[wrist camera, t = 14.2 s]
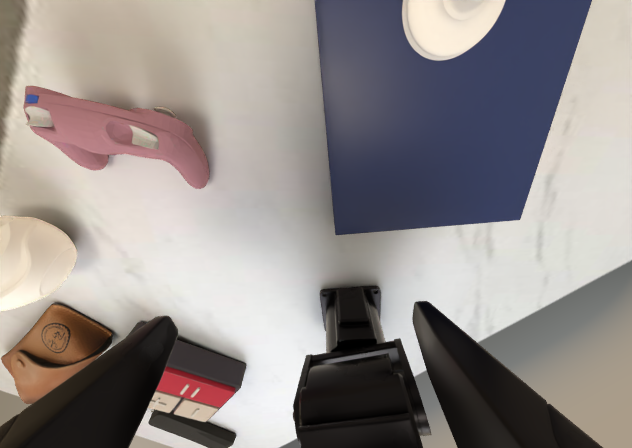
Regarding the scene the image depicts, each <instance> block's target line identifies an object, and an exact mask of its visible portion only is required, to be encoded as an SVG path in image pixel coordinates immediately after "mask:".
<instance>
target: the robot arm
mask: <svg viewBox="0 0 632 448" xmlns="http://www.w3.org/2000/svg"><path fill="white" fill-rule="evenodd" d="M375 290H377V291H375ZM320 300H321V307H322V314H323V321H324V328H325V331H326V353H323V354H318V355H306V358H305V362H304V365H303V369H302V373H301V377H300V381H299V384H298V388H297V392H296V396H295V400H294V404H293V408H294V412H293V419H294V421H295V428H296V434H297V438H298V441H299V444H300V445H301V448H423V446H422V442H421V439H420V436H421V435H423V436H426V435H431V431H430V427H429V423H428V420H427V417H426V413H425V410H424V407H423V404H422V400H421V397H420V395H419V391H418V388H417V385H416V382H415V379H414V376H413V373H412V371H411V368H410V365H409V362H408V359H407V357H406V354H405V351H404V348H403V345H402V343H401V340H400V339H394V341H389V342H385V338H384V335H383V331H382V327H381V323H380V300H381V291H380V288H379V287H378V286H367V287H351V288H336V289H323V290H321V291H320ZM413 325H414V329H415V332H416V335H417V339H418V342H419V346H420V349H421V353H422V356H423V359H424V363H425V366H426V369H427V372H428V375H429V378H430V380H431V383H432V385H433V388H434V390H435V393H436V395H437V398H438V400H439V402H440V405H441V408H442V410H443V412H444V415H445V417H446V420H447V422H448V425H449V427H450V430H451V432H452V435H453V437H454V440H455V442H456V445H457V447H458V448H603V447H602V446H600V445H599V444H598V443H597V442H595V441H594V440H593V439H592V438H591V437H589V436H588V435H587V434H586V433H584V432H583V431H582V430H581V429H579V428H578V427H577V426H576V425H575V424H573V423H572V422H571V421H570V420H568V419H567V418H566V417H565V416H564V415H563V414H561V413H560V412H559V411H558V410H557V409H555V408H554V407H553V406H552V405H551V404H547V402H546V400H545V399H543V398H542V397H541V396H540V395H538V394H537V393H536V392H535V391H534V390H533V389H531V388H530V387H529V386H528V385H527V384H526V383H524V382H523V381H522V380H521V379H520V378H518V377H517V376H516V375H515V374H514V373H512V372H511V371H510V370H509V369H508V368H507V367H505V366H504V365H503V364H502V363H501V362H499V361H498V360H497V359H496V358H495V357H493V356H492V355H491V354H490V353H488V351H486V350H485V349H484V348H483V347H482V346H480V345H479V344H478V343H477V342H476V341H474V340H473V339H472V338H471V337H470V336H469V335H467V334H466V333H465V332H464V331H463V330H461V329H460V328H459V327H458V326H457V325H455V324H454V323H453V322H452V321H451V320H450V319H448V318H447V317H446V316H445V315H444V314H442V313H441V312H440V311H439V310H438V309H436V308H435V307H434V306H433V305H432V304H431V303H429V302H427V301H418V302H415V304H414V310H413ZM177 336H178V329H177V327H176V326H175V324H174V322H173V321H172V319H171V318H170V317H169V316H158V317H155V318H154V319H152V320H151V321H149V322H148V323H147V324H145V325H144V326H142V327H141V328H139V329H138V330H137V331H135V332H134V333H132V334H131V335H130V336H128V337H127V338H125V339H124V340H122V341H121V342H120V343H118V344H117V345H115V346H114V347H112V348H111V349H110V350H108V351H107V352H105V353H104V354H103V355H101V356H100V357H98V358H97V359H95V360H94V361H93V362H91V363H90V364H88V365H87V366H86V367H84V368H83V369H81V370H80V371H78V372H77V373H76V374H74V375H73V376H71V377H70V378H68V379H67V380H66V381H64V382H63V383H61V384H60V385H59V386H57V387H56V388H54V389H53V390H51V391H50V392H49V393H47V394H46V395H44V396H43V397H42V398H40V399H39V400H37V401H36V402H34V403H33V404H32V405H30V406H29V407H27V408H26V409H24V410H23V411H22V412H21V413H20V414H18V415H16V416H14V417H13V418H12V419H10V420H9V421H7V422H6V423H5V424H3V425H2V426H1V427H0V448H129V446H130V444H131V442H132V440H133V437H134V435H135V433H136V431H137V429H138V427H139V425H140V423H141V421H142V419H143V417H144V415H145V412H146V410H147V408H148V406H149V404H150V402H151V400H152V398H153V396H154V394H155V391H156V389H157V387H158V385H159V383H160V381H161V378H162V376H163V373H164V371H165V368H166V365H167V363H168V360H169V358H170V355H171V352H172V350H173V347H174V344H175V342H176V339H177Z"/></svg>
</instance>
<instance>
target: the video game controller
mask: <svg viewBox="0 0 632 448" xmlns="http://www.w3.org/2000/svg"><path fill="white" fill-rule="evenodd" d="M154 110H155V111H152V110H149V109H141V108H132V109H131V110H130V111H129V110H125V109H121V108H117V107H114V106H110V105H106V104H102V103H97V102H93V101H88V100H83V99H78V98H73V97H70V96H67V95H64V94H62V93H58V92H55V91H52V90H48V89H45V88H41V87H36V86H26V89H25V102H24V111H25V114H26V117H27V120H28V123H27V124H26V125H29V126H30V128H31V129H32V130H33V132H35V133H36V134H37V135H39V136H40V137H42V138H44V139H46V140H47V141H49V142H51V143H52V144H53V145H55V146H56V147H57V148H59V149H60V150H61V151H62V152H63V153H65V154H66V155H67V156H68V157H69V158H71V159H72V160H73V161H75V162H76V163H77V164H79V165H80V166H82V167H85V168H88V169H90V170H101V169H103V168H104V167H105V166H106V164H107V163H108V155H116V154H129V155H134V156H139V157H145V158H152V159H160V160H164V161H166V162H169V163H170V164H171V165H173V166H174V167H175V168H176V169H177V170H178V171H179V172H180V173H181V175H182V176H183V177H184V179H185V180H186V181H187V182H188V183H189V184H190V185H191V186H192V187H194V188H196V189H201V188H203V187H205V186H206V184H207V182H208V180H209V167H208V162H207V159H206V156H205V154H204V152H203V150H202V148H201V146H200V145H199V143H198V142H197V140H196V139H195V137H194V136H193V130H192V128H191V127H190V126H188V125H187V124H185V123H184V122H182V121H180V120H178V119H175V118H176V114H174V113H173V112H172V111H171V110H170V109H167V108H165V107H155V108H154Z"/></svg>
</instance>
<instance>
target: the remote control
mask: <svg viewBox="0 0 632 448" xmlns="http://www.w3.org/2000/svg"><path fill="white" fill-rule="evenodd" d="M174 412H175V411H174V410H172V411H171V412H170V413H167V412H163V411H159V410H155V411H154V412H153V413H152V415H151V418H150V420H149V424H150V425H151V426H154V427H157V428H159V429H162V430H165V431H167V432H170V433H173V434H176V435H178V436H181V437H184V438H186V439H189V440H191V441H194V442H196V443H199V444H201V445H203V446H206V447H208V448H228V447H230V446H232V445H233V443H234V440H235V438H236V435H235V434H234V433H231V432H229V431H226V430H224V429H221V428H219V427H216V426H214V425H211V424H209V423H207V422H202V421H198V420H194V419H190V418H187V417H183V416H179V415H175V414H174Z"/></svg>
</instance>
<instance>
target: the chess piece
mask: <svg viewBox="0 0 632 448" xmlns="http://www.w3.org/2000/svg"><path fill="white" fill-rule="evenodd" d="M505 1H506V0H403V5H402V21H403V28H404V32H405V35H406V37H407V40H408V42H409V43H410V45H411V46H412V48H413V49H414V50H415V51H416V52H417V53H418V54H420V55H421V56H423V57H425V58H427V59H430V60H437V61H441V60H448V59H452V58H455V57H457V56H459V55H461V54H463V53H464V52H466V51H467V50H469V49H470V48H471V47H473V46H474V45H475V44H477V43H478V42H479V41H480V40H481V39H482V38H483V37H484V36H485V35H486V34H487V33H488V32H489V30H490V29H491V28H492V26H493V25H494V23H495V22H496V20H497V19H498V17H499V15H500V13H501V11H502V9H503V6H504V4H505Z"/></svg>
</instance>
